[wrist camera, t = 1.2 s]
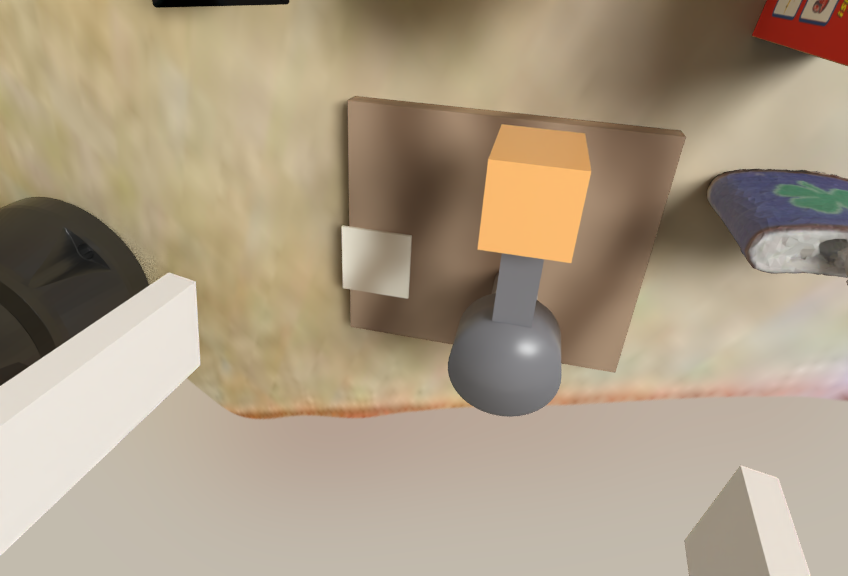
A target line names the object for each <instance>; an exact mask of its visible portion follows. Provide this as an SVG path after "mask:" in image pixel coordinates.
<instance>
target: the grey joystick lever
mask: <svg viewBox="0 0 848 576" xmlns="http://www.w3.org/2000/svg"><path fill="white" fill-rule="evenodd" d="M590 175H591V166H590V160H589V154H588V148H587V142H586V135H585V133H577V132H568V131H559V130H550V129H540V128H531V127H522V126H513V125H504V124H502V125H501V128H500V130H499V133H498V135H497V138H496V140H495V143H494V146H493V148H492V151H491V153H490V156H489V158H488V165H487V174H486V182H485V190H484V199H483V207H482V216H481V224H480V232H479V241H478V249H477V250H484V251H491V252H498V253H502V255H501V262H500V269H499V276H498V283H497V290H496V293H494V294H490V295H487V296H484V297H482V298H480V299H478V300H476V301H475V302H474V303H472V304H471V305H470V306H469V307H468V308H467V309H466V310H465V312H464V313H463V315H462V317H461V319H460V322H459V326H458V329H457V332H456V336H455V339H454V343H453V346H452V350H451V353H450V357H449V361H448V373H449V377H450V380H451V383H452V385H453V387H454V388H455V390H456V391H457V393H458V394H459V395H460V396H461V397H462V398H463V399H464V400H465V401H466V402H468V403H469V404H470V405H472V406H474V407H475V408H477V409H479V410H481V411H484V412H487V413H490V414H494V415H499V416H520V415H526V414H529V413H532V412H535V411H537V410H539V409H541V408H543V407H544V406H545V405H547V404H548V403H549V402H550V401H551V400H552V399H553V398H554V396H555V395H556V393H557V391H558V389H559V386H560V383H561V331H560V327H559V324H558V322H557V320H556V318H555V316H554V315H553V314H552V312H551V311H550V310H549V309H548V308H547V307H546V306H544V305H543V304H542V303H540V302H539V301H537V295H538V289H539V284H540V279H541V274H542V268H543V263H544V259H546V260H553V261H560V262H566V263H571V262H572V257H573V253H574V248H575V244H576V239H577V235H578V230H579V226H580V221H581V216H582V212H583V207H584V203H585V198H586V194H587V189H588V185H589V180H590Z"/></svg>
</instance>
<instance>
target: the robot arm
mask: <svg viewBox="0 0 848 576" xmlns="http://www.w3.org/2000/svg"><path fill="white" fill-rule="evenodd" d="M199 366H200V349H199V331H198V314H197V296H196V281H193V280H190V279H187V278H184V277H181V276H178V275H175V274H172V273H167V274H166V275H164V276H163V277H161V278H160V279H158V280H157V281H155V282H154V283H152V284H151V285H148V282H147V279H146V277H145V274H144V272H143V270H142V268H141V266H140V265H139V263H138V261H137V260H136V258H135V257H134V255H133V254H132V252H131V251H130V250H129V248H128V247H127V246H126V245H125V244H124V242H123V241H122V240H121V239H120V238H119V237H118V236H117V235H116V234H115V233H114V232H113V231H112V230H111V229H110V228H108V227H107V226H106V225H105V224H104V223H102V222H101V221H100V220H98V219H97V218H95V217H94V216H92V215H91V214H89V213H88V212H86V211H84V210H82V209H80V208H78V207H76V206H74V205H72V204H69V203H66V202H63V201H60V200H56V199H52V198H45V197H31V198H26V199H22V200H19V201H17V202H14V203H12V204H9V205H7V206H5V207H2V208H0V556H1V555H2V553H4V552H5V551H6V550H7V549H8V548H9V547H10V546H11V545H12V544H13V543H14V542H15V541H16V540H17V539H18V538H19V537H20V536H22V535H23V534H24V533H25V532H26V531H27V530H28V529H29V528H30V527H31V526H32V525H33V524H34V523H35V522H36V521H37V520H38V519H39V518H40V517H41V516H43V515H44V513H45V512H47V511H48V510H49V509H50V508H51V507H52V506H53V505H54V504H55V503H56V502H57V501H58V500H59V499H60V498H61V497H62V496H63V495H65V493H67V492H68V491H69V490H70V489H71V488H72V487H73V486H74V485H75V484H76V483H77V482H78V481H79V480H80V479H81V478H82V477H83V476H84V475H85V474H87V473H88V472H89V470H91V469H92V468H93V467H94V466H95V465H96V464H97V463H98V462H99V461H100V460H101V459H102V458H103V457H104V456H105V455H106V454H108V453H109V452H110V451H111V450H112V449H113V448H114V447H115V446H116V445H117V444H118V443H119V442H120V441H121V440H122V439H123V438H124V437H125V436H126V435H127V434H129V433H130V431H131V430H133V429H134V428H135V427H136V426H137V425H138V424H139V423H140V422H141V421H142V420H143V419H144V418H145V417H146V416H147V415H148V414H149V413H151V412H152V411H153V410H154V409H155V408H156V407H157V406H158V405H159V404H160V403H161V402H162V401H163V400H164V399H165V398H166V397H167V396H168V395H169V394H171V393H172V392H173V390H175V389H176V388H177V387H178V386H179V385H180V384H181V383H182V382H183V381H184V380H185V379H186V378H187V377H188V376H189V375H190V374H191V373H193V372H194V371H195V370H196V369H197V368H198V367H199ZM685 548H686V556H687V564H688V571H689V576H811V575H810V572H809V569H808V566H807V563H806V560H805V557H804V554H803V551H802V548H801V545H800V542H799V539H798V536H797V533H796V530H795V527H794V524H793V521H792V518H791V515H790V512H789V509H788V506H787V503H786V500H785V497H784V494H783V491H782V488H781V485H780V482H779V479H778V478H777V477H774V476H771V475H768V474H765V473H762V472H759V471H756V470H753V469H750V468H747V467H744V466H740V467H739V468H738V469H737V471H736V472H735V473H734V475H733V476H732V478H731V479H730V480H729V482H728V483H727V484H726V485H725V487H724V488H723V490H722V491H721V492H720V494H719V495H718V496H717V498H716V499H715V500H714V502H713V503H712V504H711V506H710V507H709V508H708V510H707V511H706V512H705V514H704V515H703V516H702V518H701V519H700V521H699V522H698V523H697V524H696V526H695V527H694V528H693V530H692V531H691V532H690V534H689V535H688V537H687V538H686V539H685Z"/></svg>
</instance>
